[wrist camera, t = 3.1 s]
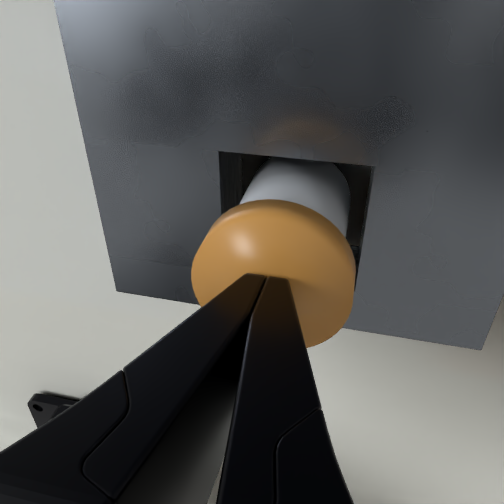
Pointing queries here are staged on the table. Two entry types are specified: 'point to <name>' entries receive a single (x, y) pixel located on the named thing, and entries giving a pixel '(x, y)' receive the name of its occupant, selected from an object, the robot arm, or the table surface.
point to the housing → (303, 138)
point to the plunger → (287, 242)
